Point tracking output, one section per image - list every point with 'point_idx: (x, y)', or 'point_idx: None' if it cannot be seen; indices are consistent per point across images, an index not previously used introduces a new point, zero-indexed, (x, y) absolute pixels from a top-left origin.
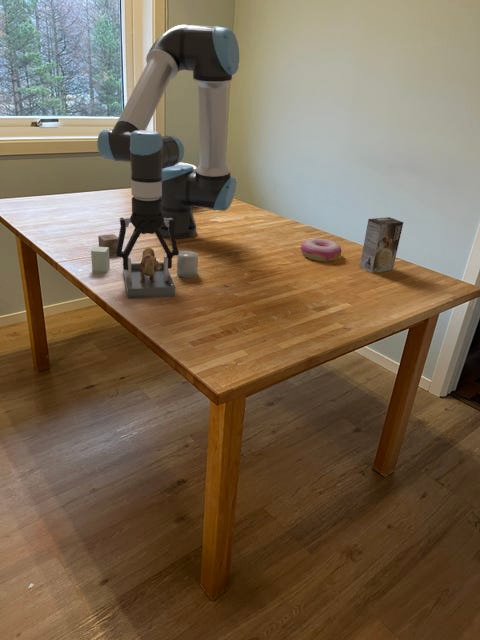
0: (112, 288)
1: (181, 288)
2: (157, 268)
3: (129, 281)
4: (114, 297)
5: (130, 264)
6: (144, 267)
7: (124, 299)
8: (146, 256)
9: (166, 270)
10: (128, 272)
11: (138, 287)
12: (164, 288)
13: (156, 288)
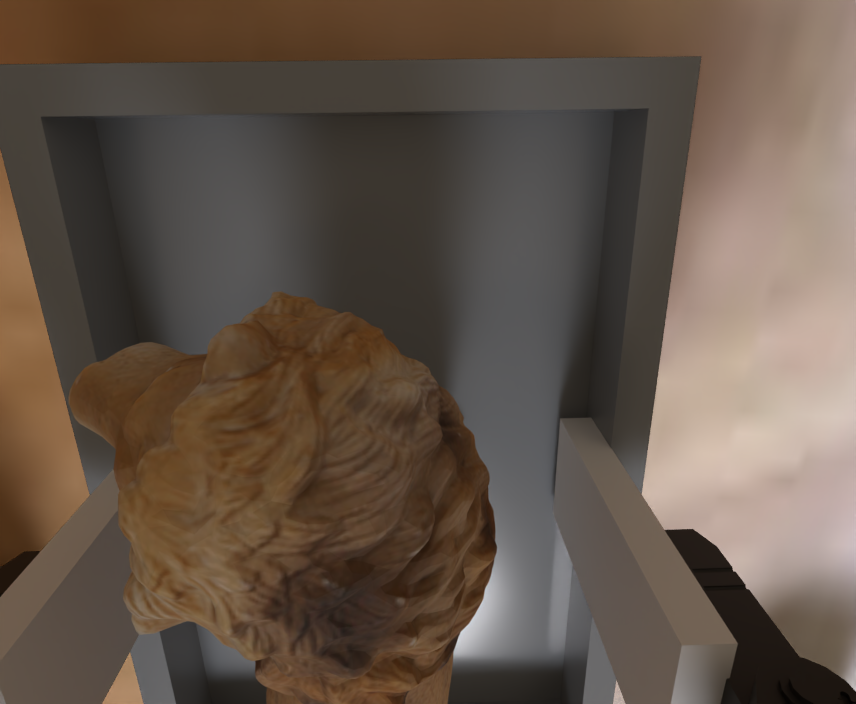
0: (748, 364)
1: (5, 307)
2: (178, 353)
3: (587, 422)
4: (785, 123)
5: (650, 571)
6: (437, 399)
7: (687, 49)
8: (374, 686)
9: (97, 509)
10: (635, 486)
11: (538, 101)
12: (154, 65)
13: (274, 64)
